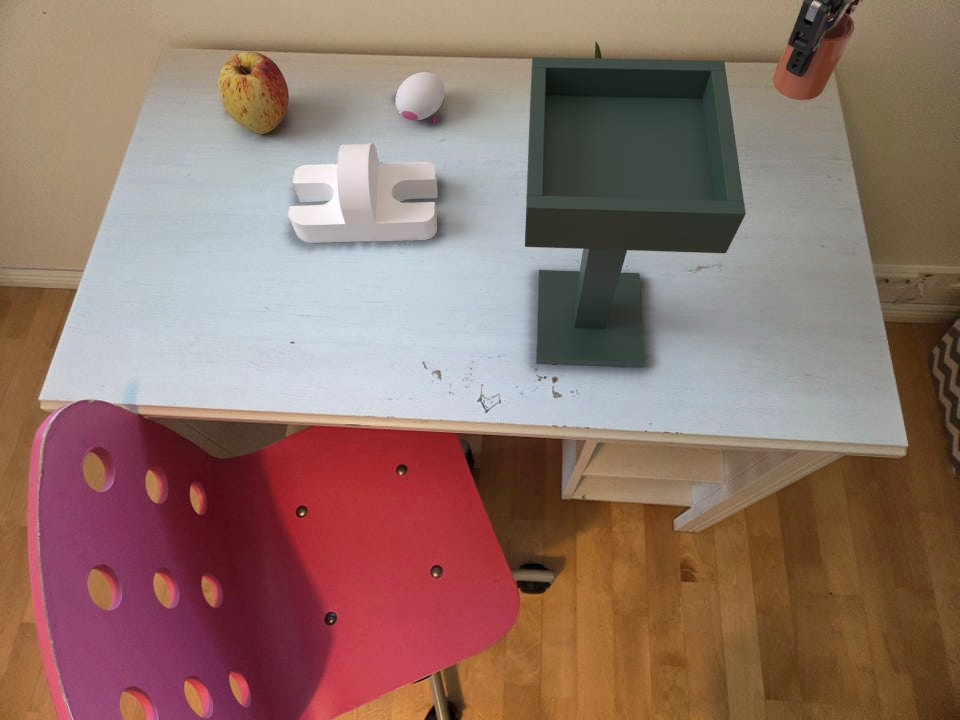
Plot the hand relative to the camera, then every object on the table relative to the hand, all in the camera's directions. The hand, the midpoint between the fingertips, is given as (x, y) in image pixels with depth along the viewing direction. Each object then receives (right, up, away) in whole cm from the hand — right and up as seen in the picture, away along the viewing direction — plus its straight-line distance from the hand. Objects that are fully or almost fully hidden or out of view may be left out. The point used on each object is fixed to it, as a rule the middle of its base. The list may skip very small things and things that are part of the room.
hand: (810, 56), depth 79 cm
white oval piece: (-46, 0, +18) cm, 50 cm away
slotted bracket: (-52, -16, +11) cm, 56 cm away
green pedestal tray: (-25, -30, +2) cm, 39 cm away
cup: (0, -2, +3) cm, 4 cm away
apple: (-68, -1, +18) cm, 70 cm away
